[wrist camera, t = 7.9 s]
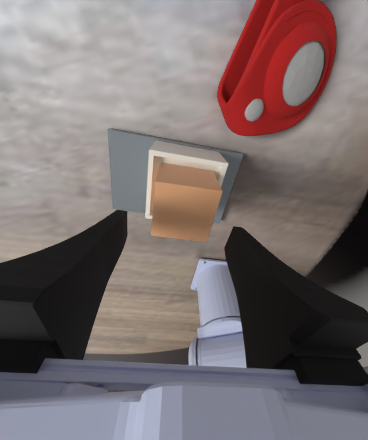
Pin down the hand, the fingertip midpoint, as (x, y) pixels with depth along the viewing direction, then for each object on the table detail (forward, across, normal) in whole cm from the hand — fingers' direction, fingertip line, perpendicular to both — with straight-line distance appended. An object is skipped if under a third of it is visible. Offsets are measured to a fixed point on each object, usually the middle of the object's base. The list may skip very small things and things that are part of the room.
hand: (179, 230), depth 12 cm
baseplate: (+10, +1, +1) cm, 10 cm away
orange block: (+6, 0, 0) cm, 6 cm away
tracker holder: (+11, -7, -12) cm, 18 cm away
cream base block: (+10, 0, 0) cm, 10 cm away
